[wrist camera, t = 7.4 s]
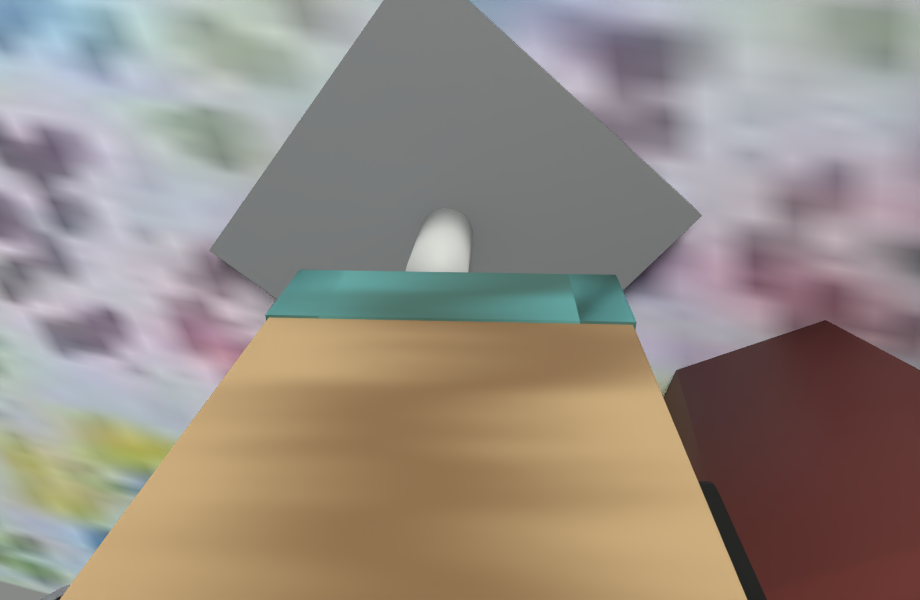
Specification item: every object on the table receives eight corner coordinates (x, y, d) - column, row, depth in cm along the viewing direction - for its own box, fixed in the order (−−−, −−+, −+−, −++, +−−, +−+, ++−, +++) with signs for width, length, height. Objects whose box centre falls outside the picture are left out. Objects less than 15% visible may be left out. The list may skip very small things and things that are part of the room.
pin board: (692, 206, 29) (740, 256, 24) (469, 420, 35) (463, 503, 29) (420, -44, 26) (396, -59, 20) (221, 240, 32) (157, 293, 26)
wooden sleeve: (616, 274, 12) (787, 675, 5) (590, 520, 15) (678, 1023, 7) (299, 269, 12) (21, 638, 5) (328, 510, 15) (168, 983, 8)
